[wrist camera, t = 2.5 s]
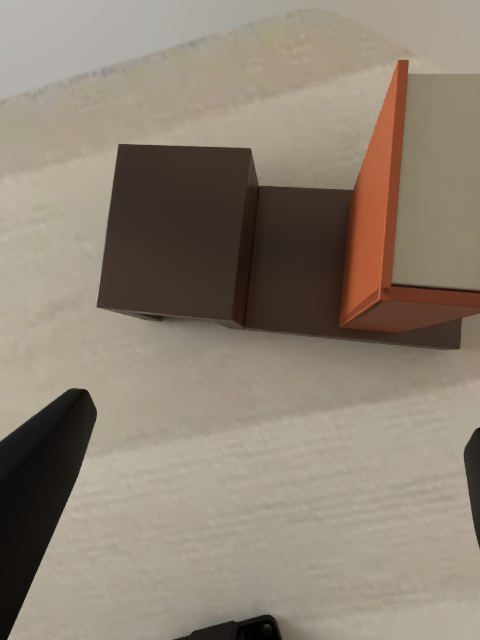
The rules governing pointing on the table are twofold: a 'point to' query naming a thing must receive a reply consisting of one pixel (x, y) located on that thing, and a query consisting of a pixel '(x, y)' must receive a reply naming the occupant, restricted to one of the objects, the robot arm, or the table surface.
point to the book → (416, 208)
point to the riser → (231, 248)
